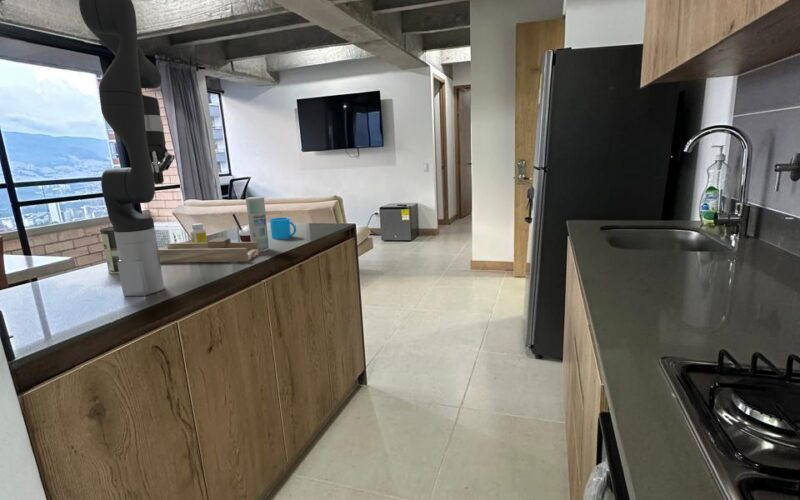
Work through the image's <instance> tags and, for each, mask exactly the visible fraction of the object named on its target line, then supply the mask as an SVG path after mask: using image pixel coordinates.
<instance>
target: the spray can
mask: <svg viewBox="0 0 800 500" xmlns="http://www.w3.org/2000/svg"><path fill="white" fill-rule="evenodd" d="M245 204H246V212H247V221H248V227H249V230H250V239H251V242H258V244H259V253H261V251H263V252H266V250H267V251H269V250H270V247H269V236H268V226H267V225H268V223H267V216H266V214H267V213H266V206H265V205H266V204H265V196H252V197H251V196H250V197H246V198H245Z"/></svg>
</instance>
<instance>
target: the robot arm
mask: <svg viewBox="0 0 800 500" xmlns="http://www.w3.org/2000/svg"><path fill="white" fill-rule="evenodd" d="M78 7H79V12H80V15H81V18H82V21H83V22H84V24H85V26H86V28H88V30H89V31H90V32H91V33H92V34H93V35H94V36H95V37H96V38H97V39H98V40H99V41H100V42H101V43H102V44H103V45H104V46H105V47H106V48H107V49H108V50H110V52H112V54H113V55H114V56H115V57H114V59H113V60H112V63H110V65H109V67H108V68H107V69H106V71H105V72H104V74H103V76H102V78H101V80H100V81H99V85H98V90H99V91H98V93H99V101H100V102H99V103H100V109H101V113H102V116H103V119H104V120H105V121H106V123H107V124H108V125H109V127H110V128H111V129H112V131H114V132H115V135H116V136H118V138H119V139H120V141H121V142H122V144H123V145H124V147H125V148H126V151H127V155H128V157H129V162H130V167H115V168H114V167H111V168H107V169H105V170H104V171H103V173H102V175H101V180H100V181H101V182H100V183H101V184H100V185H101V191H102V196H103V199H104V204H105V208H106V212H107V216H108V219H109V221H110V223H111V226H112V227H113V229H114V234H115V239H116V245H117V250H118V256H119V261H118V262H117V264H118V269H119V274H118V275H119V278H120V284H121V289H122V294H123V297H132V296H133V297H138V296H139V297H143V296H144V297H146V296H148V295H151V294H155V293H158V292H160V291H162V290H164V288H165V282H164V278H163V271H162V265H161V264H162V263H160V258H159V252H158V249H159V247H158V246H159V245H158V241H157V235H156V229H155V228H156V227H155V221H154V219H153V217H152V216H150V215H147V214H143V213H141V212H139V211H137V210H135V209H134V208H133V206H132V205H131V204H148V203H151V202H152V201H153V200H154V197H155V194H156V185H162V184H163V183H164V182H165V180H164V172H165V171H168V170H169V168H170V166H171V165H172V163H173V161H174V160H175V158H176V157H175V155H174V154H171V153H170V152H169V151H168V149H167V147H166V144H167V143H166V138H165V131H164V124H163V120H162V116H161V111H160V105H159V103H160V102H159V100H158V99H157V97H155V96H151V95H145V94H143V90H142V89H145V90H146V89H154V90H155V89H158V88H159V87H160V86H161V84H162V74H161V72H160V70H159V68H158V67H157V66H156V65H155V64H154V63H153V62H151V60H149V59H148V58H147V57H146V56H145V54H144V52H143V50H142V48H141V47H140V46H139V45H138V29H137V28H138V27H137V26H138V25H137V15H136V10H135V5H134V3H133V1H132V0H78Z"/></svg>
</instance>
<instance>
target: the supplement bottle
mask: <svg viewBox="0 0 800 500" xmlns="http://www.w3.org/2000/svg"><path fill="white" fill-rule="evenodd" d="M190 237H191V243H208V238H207V232H206V229H205V228H204V224H203V223H192V224H191V230H190Z"/></svg>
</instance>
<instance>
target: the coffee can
mask: <svg viewBox="0 0 800 500" xmlns="http://www.w3.org/2000/svg"><path fill="white" fill-rule="evenodd" d="M99 232H100V233H101V239H102V244H103V250H104V254H105V260H106V264H107V265H106V266H107V269H108V270H107V271H108V273H109V274H112V275H120V274H119V269H118V264H117V262H118V261H119V256H118V250H117V245H116V239H115V234H114V229H113V226H109V227H108V226H107V227H102V228H101V229H100V230H99Z"/></svg>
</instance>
